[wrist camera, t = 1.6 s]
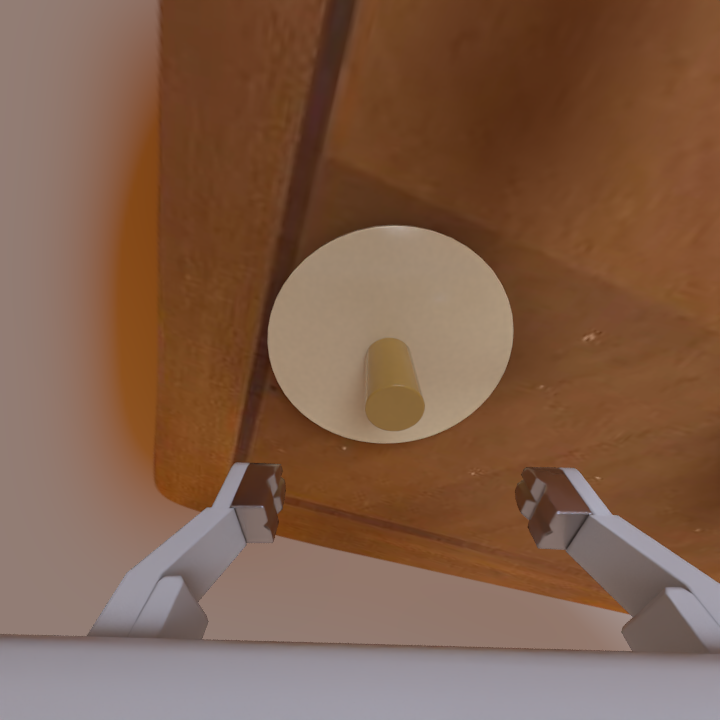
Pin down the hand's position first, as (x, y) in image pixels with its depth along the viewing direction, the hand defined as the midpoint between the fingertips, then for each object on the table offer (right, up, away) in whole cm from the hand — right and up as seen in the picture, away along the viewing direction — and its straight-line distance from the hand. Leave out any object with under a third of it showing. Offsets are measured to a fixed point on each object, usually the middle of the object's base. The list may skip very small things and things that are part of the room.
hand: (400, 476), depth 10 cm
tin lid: (0, +4, +7) cm, 8 cm away
